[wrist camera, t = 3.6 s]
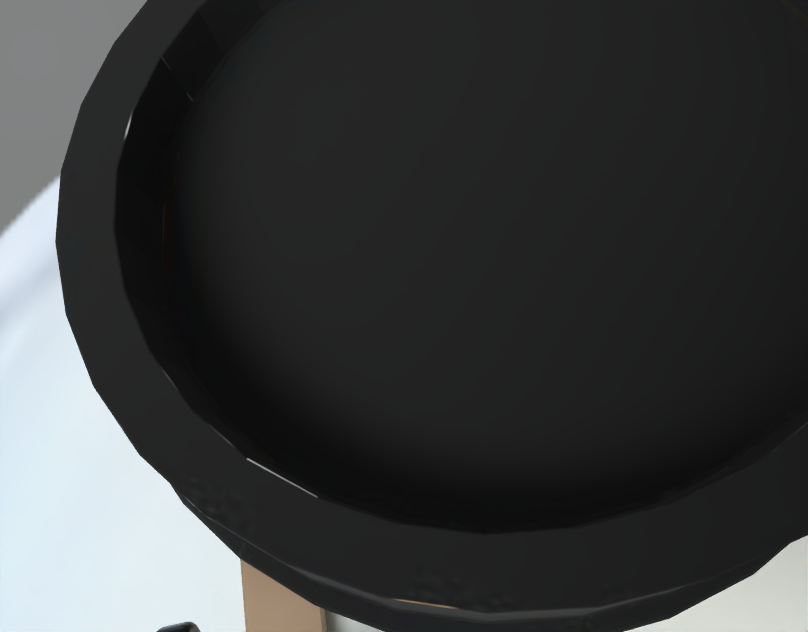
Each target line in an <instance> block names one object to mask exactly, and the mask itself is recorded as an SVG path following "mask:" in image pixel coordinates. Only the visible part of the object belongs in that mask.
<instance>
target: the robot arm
mask: <svg viewBox="0 0 808 632" xmlns="http://www.w3.org/2000/svg"><path fill="white" fill-rule="evenodd" d="M157 632H200V630H199V628H198V627H197V625H195V624H194V623H192V622H184V623H179V624H175V625H171V626H166V627H163V628H161V629H159V630H158V631H157Z"/></svg>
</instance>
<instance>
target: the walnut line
mask: <svg viewBox="0 0 808 632" xmlns="http://www.w3.org/2000/svg"><path fill="white" fill-rule="evenodd" d="M240 561H241V573H242V586H243V599H244V612H245V624H246V632H327V623H326V614H325V609H323V608H320V607H318V606H315V605H313V604H312V603H310V602H308V601H307V600H305V599H304V598H302V597H300V596H299V595H297V594H296V593H294V592H292V591H291V590H289V589H288V588H286V587H284V586H283V585H281V584H280V583H278V582H276V581H275V580H273V579H272V578H270V577H268V576H267V575H265V574H264V573H262V572H260V571H259V570H257V569H256V568H254V567H252V566H251V565H249V564H248V563H246V562H244V561H243V560H241V559H240Z"/></svg>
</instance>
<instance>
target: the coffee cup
mask: <svg viewBox="0 0 808 632" xmlns="http://www.w3.org/2000/svg"><path fill="white" fill-rule="evenodd" d="M55 243H56V249H57V256H58V263H59V270H60V277H61V284H62V291H63V298H64V305H65V312H66V316H67V319H68V321H69V324H70V326H71V329H72V332H73V334H74V337H75V339H76V342H77V345H78V347H79V350H80V353H81V355H82V358H83V360H84V363H85V366H86V368H87V371H88V373H89V376H90V379H91V381H92V384H93V386H94V388H95V389H96V391H97V392H98V394H99V395H100V397H101V398H102V400H103V401H104V403H105V404H106V406H107V407H108V409H109V410H110V412H111V413H112V415H113V416H114V418H115V419H116V421H117V422H118V424H119V425H120V427H121V428H122V430H123V431H124V433H125V434H126V436H127V437H128V439H129V440H130V442H131V443H132V444H133V446H134V447H135V449H136V450H137V452H138V453H139V455H140V456H141V457H142V458H143V459H144V460H146V461H147V462H148V463H149V464H150V465H151V466H152V467H153V468H154V469H155V470H156V471H157V472H158V473H160V474H161V475H162V476H163V477H164V478H165V479H166V480H167V481H168V482H169V483H170V484H171V486H172V487H173V489H174V490H175V492H176V493H177V495H178V496H179V498H180V499H181V501H182V502H183V504H184V505H185V506H186V507H187V508H188V509H189V510H190V511H191V512H193V513H194V514H195V515H196V516H197V517H198V518H199V519H200V520H201V521H202V522H203V523H204V524H205V525H206V526H207V527H208V528H209V529H210V530H211V531H212V532H213V533H214V534H215V535H216V536H217V537H218V538H219V539H220V540H221V541H222V542H223V543H225V544H226V545H227V546H228V547H229V548H230V549H231V550H232V551H233V552H234V553H235V554H236V555H237V556H238V557H239V558H240V559H241V560H243V561H244V562H246V563H248V564H249V565H251V566H252V567H254V568H256V569H257V570H259V571H260V572H262V573H264V574H265V575H267V576H268V577H270V578H272V579H273V580H275V581H276V582H278V583H280V584H281V585H283V586H284V587H286V588H288V589H289V590H291V591H292V592H294V593H296V594H297V595H299V596H300V597H302V598H304V599H305V600H307V601H308V602H310V603H312V604H313V605H315V606H318V607H320V608H323V609H326V610H328V611H331V612H334V613H336V614H339V615H342V616H344V617H347V618H350V619H352V620H355V621H358V622H360V623H363V624H366V625H368V626H371V627H374V628H376V629H379V630H382V631H385V632H624V631H627V630H631V629H634V628H638V627H641V626H645V625H648V624H652V623H655V622H659V621H663V620H666V619H670V618H671V617H673V616H675V615H677V614H679V613H681V612H683V611H685V610H687V609H688V608H690V607H692V606H694V605H696V604H698V603H700V602H702V601H704V600H706V599H708V598H709V597H711V596H713V595H715V594H717V593H719V592H721V591H723V590H725V589H727V588H728V587H730V586H732V585H734V584H736V583H738V582H740V581H742V580H744V579H746V578H748V577H749V576H751V575H753V574H754V573H756V572H757V571H758V570H759V569H760V568H761V567H763V566H764V565H765V564H766V563H767V562H769V561H770V560H771V559H772V558H773V557H774V556H776V555H777V554H778V553H779V552H780V551H781V550H783V549H784V548H785V547H786V546H787V545H788V544H790V543H792V542H794V541H796V540H798V539H800V538H802V537H805V536H807V535H808V0H147V2H146V3H145V4H144V6H143V7H142V8H141V9H140V11H139V12H138V13H137V15H136V16H135V17H134V18H133V20H132V21H131V22H130V23H129V25H128V26H127V27H126V28H125V30H124V31H123V32H122V33H121V35H120V36H119V37H118V39H117V40H116V41H115V43H114V44H113V46H112V48H111V50H110V51H109V53H108V55H107V57H106V59H105V61H104V63H103V65H102V66H101V68H100V70H99V72H98V74H97V76H96V78H95V80H94V81H93V83H92V85H91V87H90V89H89V91H88V93H87V95H86V96H85V98H84V100H83V102H82V104H81V107H80V110H79V113H78V117H77V120H76V123H75V126H74V130H73V133H72V137H71V140H70V143H69V146H68V150H67V153H66V156H65V160H64V163H63V166H62V169H61V176H60V189H59V202H58V215H57V228H56V240H55Z"/></svg>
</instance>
